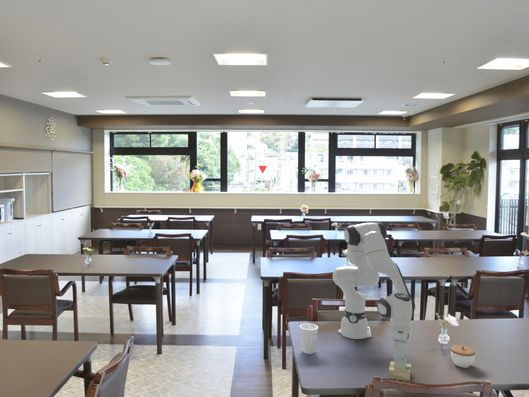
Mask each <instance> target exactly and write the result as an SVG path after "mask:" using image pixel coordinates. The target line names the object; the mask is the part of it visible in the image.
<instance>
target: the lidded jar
mask: <svg viewBox="0 0 529 397" xmlns="http://www.w3.org/2000/svg"><path fill="white" fill-rule="evenodd" d="M450 356H451V357H450V358H451V360H452V361H453V363H454V364H455V366H457V367H459V368H463V369H468V368H469V367H470V366H472V365H473V364H474V362H475V357H476V350H475V349H474V348H472V347H470V346H467V345H461V344H455V345H452V346H450Z"/></svg>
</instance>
